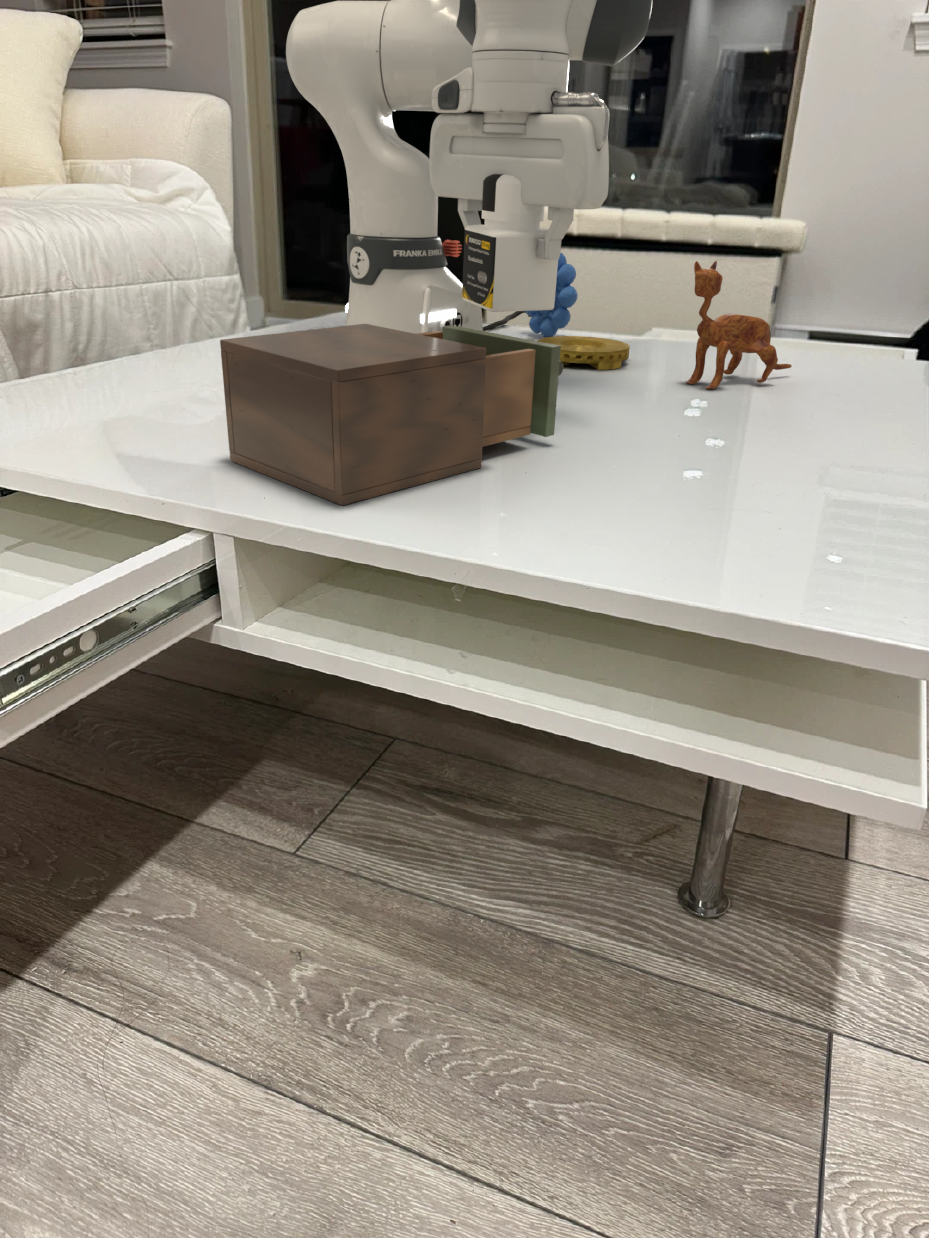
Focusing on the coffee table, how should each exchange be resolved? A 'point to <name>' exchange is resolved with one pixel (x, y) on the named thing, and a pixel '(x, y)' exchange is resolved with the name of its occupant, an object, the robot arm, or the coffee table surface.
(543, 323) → the grapes
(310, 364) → the cabinet
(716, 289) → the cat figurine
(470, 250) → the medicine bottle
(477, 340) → the drawer
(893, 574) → the coffee table surface
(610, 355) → the golden round trivet
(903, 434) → the coffee table surface
